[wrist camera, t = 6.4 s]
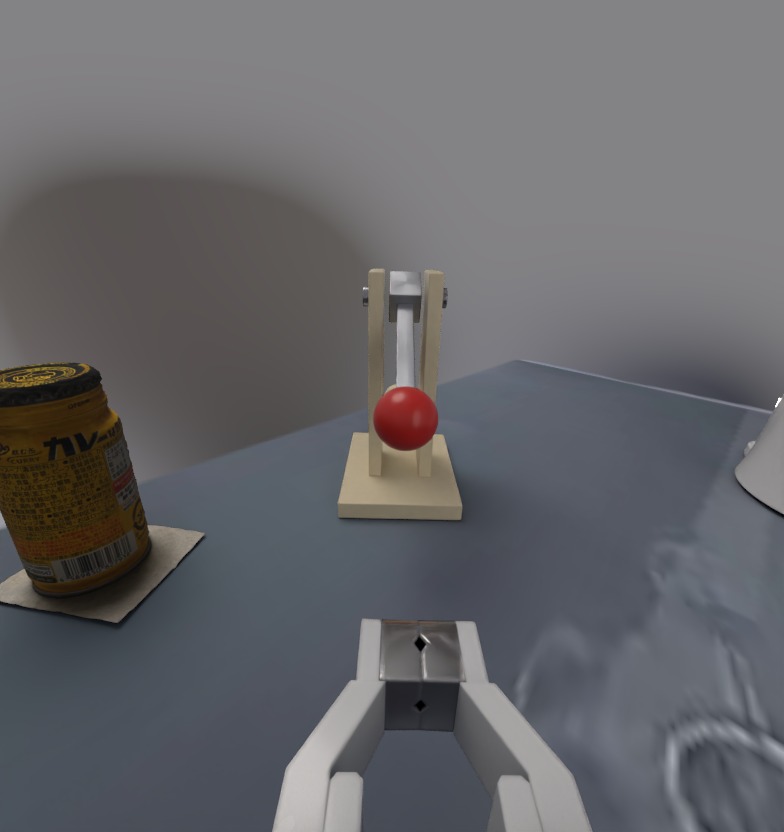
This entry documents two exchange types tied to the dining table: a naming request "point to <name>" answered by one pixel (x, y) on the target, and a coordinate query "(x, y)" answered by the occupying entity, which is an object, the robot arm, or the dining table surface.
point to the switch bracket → (386, 467)
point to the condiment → (75, 498)
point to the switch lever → (405, 374)
